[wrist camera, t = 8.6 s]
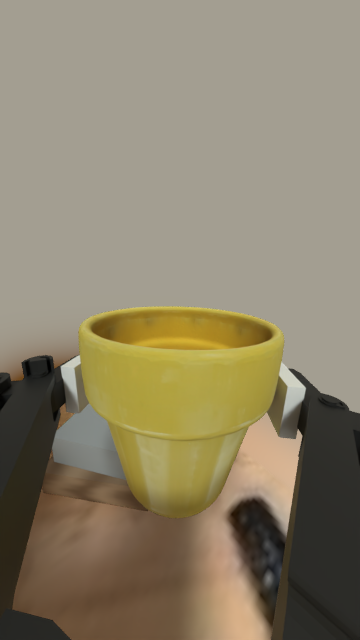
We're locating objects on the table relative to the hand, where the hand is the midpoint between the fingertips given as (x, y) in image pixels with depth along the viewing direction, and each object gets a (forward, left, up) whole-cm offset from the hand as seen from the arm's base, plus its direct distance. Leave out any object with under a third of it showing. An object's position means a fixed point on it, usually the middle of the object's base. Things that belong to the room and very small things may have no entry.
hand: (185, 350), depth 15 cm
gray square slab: (-11, +9, -18) cm, 23 cm away
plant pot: (0, -4, -6) cm, 7 cm away
